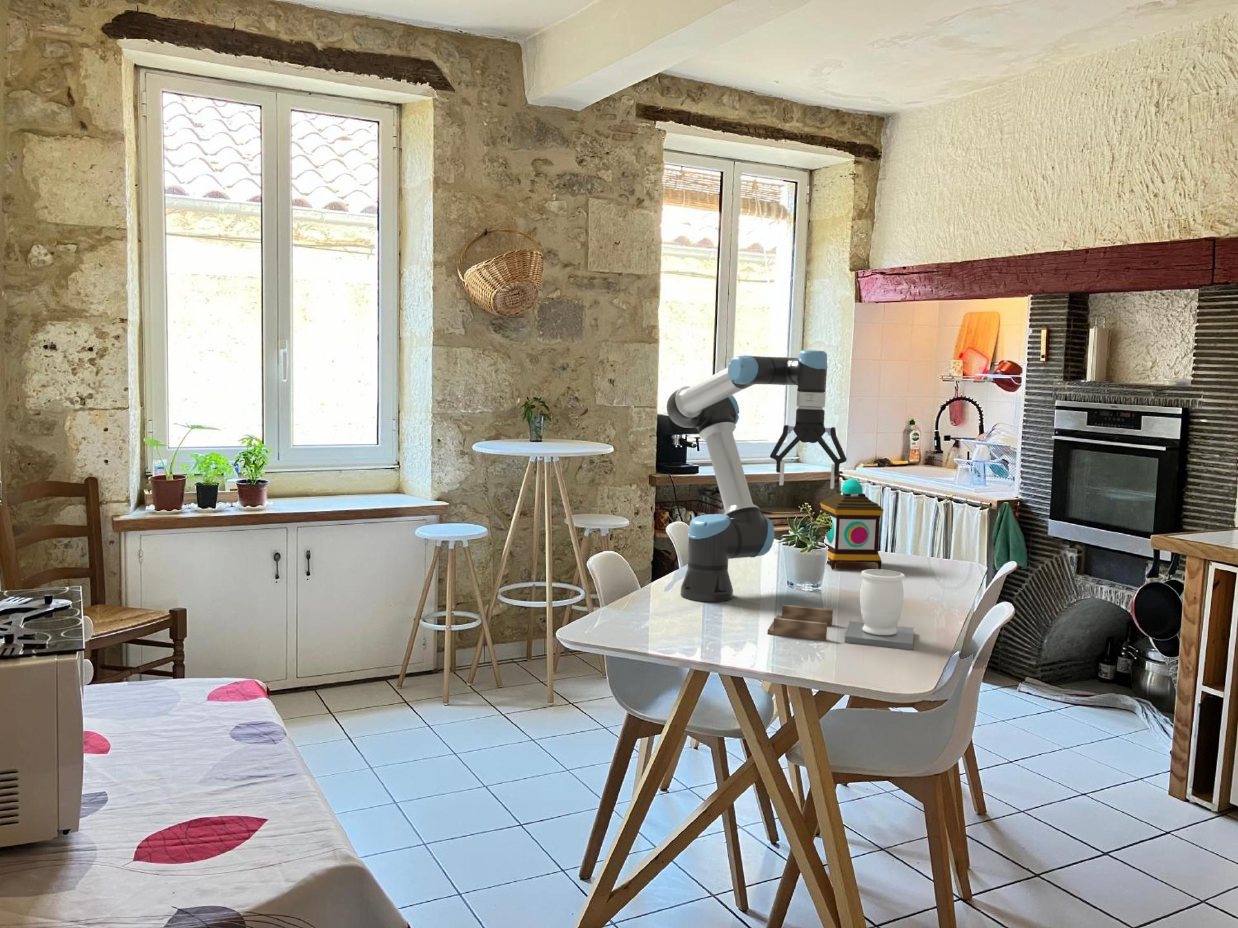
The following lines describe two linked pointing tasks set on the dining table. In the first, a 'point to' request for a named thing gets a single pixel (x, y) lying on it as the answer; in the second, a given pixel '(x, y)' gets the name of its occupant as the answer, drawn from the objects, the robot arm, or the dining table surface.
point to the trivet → (880, 636)
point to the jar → (881, 600)
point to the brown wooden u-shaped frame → (802, 622)
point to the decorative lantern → (852, 526)
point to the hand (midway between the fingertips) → (806, 486)
